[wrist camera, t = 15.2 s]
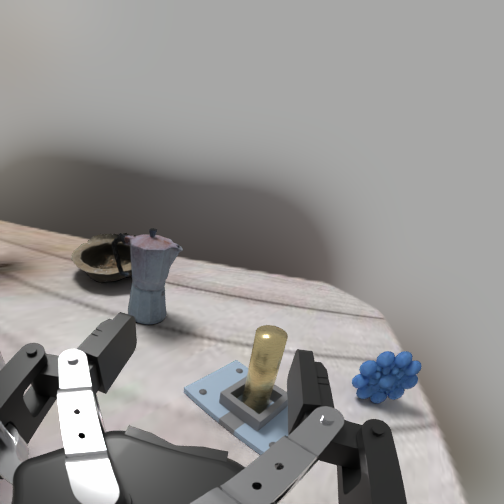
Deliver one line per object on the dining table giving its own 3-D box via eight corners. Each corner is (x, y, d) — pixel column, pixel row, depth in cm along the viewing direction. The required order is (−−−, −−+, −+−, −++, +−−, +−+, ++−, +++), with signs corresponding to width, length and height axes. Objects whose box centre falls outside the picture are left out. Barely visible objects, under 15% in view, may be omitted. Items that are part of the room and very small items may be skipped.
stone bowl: (147, 256, 91) (149, 230, 88) (157, 297, 71) (159, 265, 67) (77, 256, 79) (76, 229, 76) (68, 298, 59) (64, 265, 56)
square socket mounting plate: (183, 392, 40) (184, 376, 39) (235, 364, 49) (237, 349, 48) (277, 466, 29) (284, 454, 28) (322, 419, 38) (329, 405, 37)
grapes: (400, 392, 44) (427, 344, 40) (401, 416, 38) (433, 365, 34) (347, 380, 48) (369, 329, 44) (343, 403, 41) (369, 350, 38)
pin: (235, 404, 38) (249, 332, 34) (252, 392, 41) (269, 322, 37) (255, 418, 36) (275, 347, 31) (272, 405, 39) (293, 335, 34)
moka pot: (177, 329, 56) (182, 238, 50) (108, 322, 53) (103, 230, 47) (179, 307, 65) (185, 225, 59) (118, 300, 62) (117, 219, 56)
